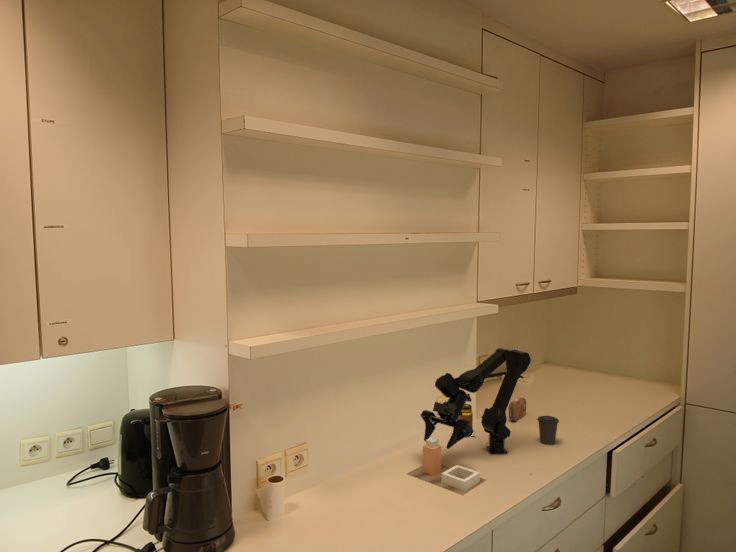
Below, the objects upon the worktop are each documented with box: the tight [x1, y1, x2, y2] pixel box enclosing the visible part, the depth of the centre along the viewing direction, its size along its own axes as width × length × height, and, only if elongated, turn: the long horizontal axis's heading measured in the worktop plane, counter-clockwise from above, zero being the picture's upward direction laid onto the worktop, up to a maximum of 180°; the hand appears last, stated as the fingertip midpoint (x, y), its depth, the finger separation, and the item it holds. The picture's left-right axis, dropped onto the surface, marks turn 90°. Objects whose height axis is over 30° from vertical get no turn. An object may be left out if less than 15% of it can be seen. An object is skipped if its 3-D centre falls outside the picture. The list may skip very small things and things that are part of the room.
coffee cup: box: [536, 415, 560, 446], centre depth 208 cm, size 8×8×10 cm
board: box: [406, 463, 487, 496], centre depth 176 cm, size 22×14×1 cm, turn 47°
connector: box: [422, 437, 442, 476], centre depth 180 cm, size 4×4×11 cm
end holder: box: [441, 464, 481, 491], centre depth 172 cm, size 9×9×3 cm
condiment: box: [457, 403, 474, 428], centre depth 218 cm, size 7×8×12 cm
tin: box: [507, 397, 527, 422], centre depth 236 cm, size 15×3×8 cm, turn 143°
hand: (435, 444), depth 181 cm, fingers open, 9 cm apart
